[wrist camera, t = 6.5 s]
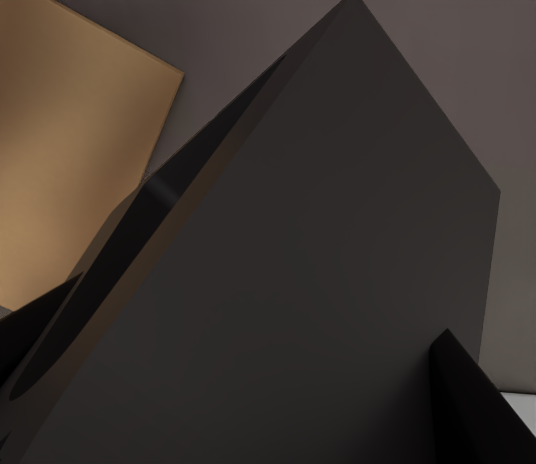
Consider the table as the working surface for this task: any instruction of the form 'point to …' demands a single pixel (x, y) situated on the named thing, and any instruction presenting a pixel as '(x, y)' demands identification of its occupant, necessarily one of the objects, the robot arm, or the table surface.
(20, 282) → the wooden board
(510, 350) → the table surface
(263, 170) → the phone stand
